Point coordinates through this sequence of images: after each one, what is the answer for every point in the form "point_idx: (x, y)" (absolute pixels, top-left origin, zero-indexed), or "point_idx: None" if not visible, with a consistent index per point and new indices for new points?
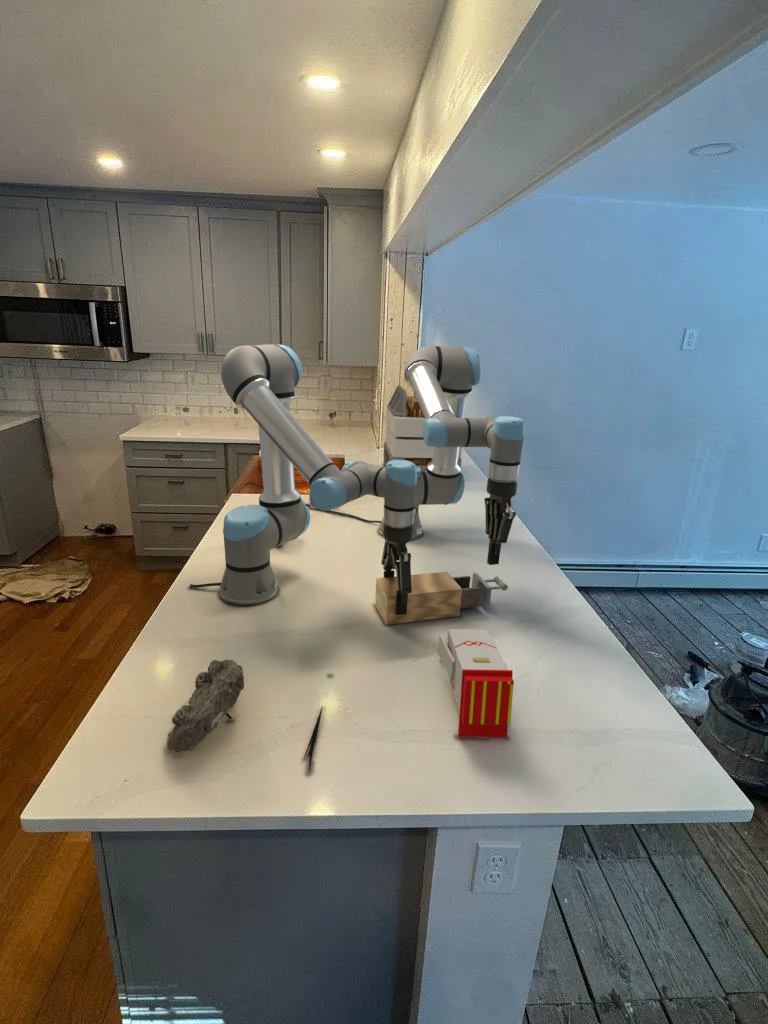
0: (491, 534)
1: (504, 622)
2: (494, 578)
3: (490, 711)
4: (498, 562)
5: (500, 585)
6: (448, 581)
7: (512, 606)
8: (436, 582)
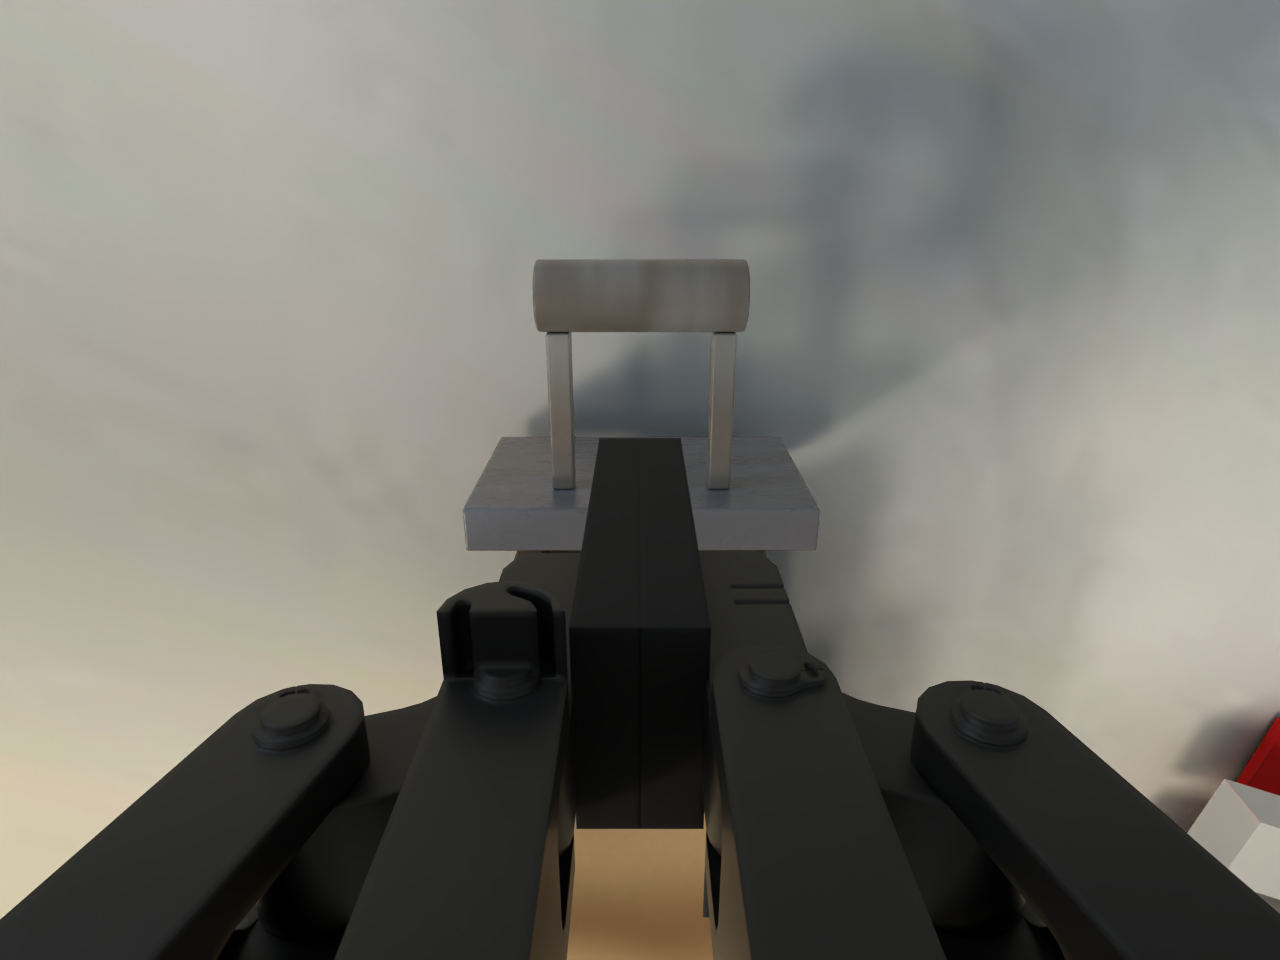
0: (564, 935)
1: (955, 384)
2: (550, 329)
3: None
4: (682, 453)
5: (701, 331)
6: (660, 857)
7: (750, 186)
8: (654, 939)
